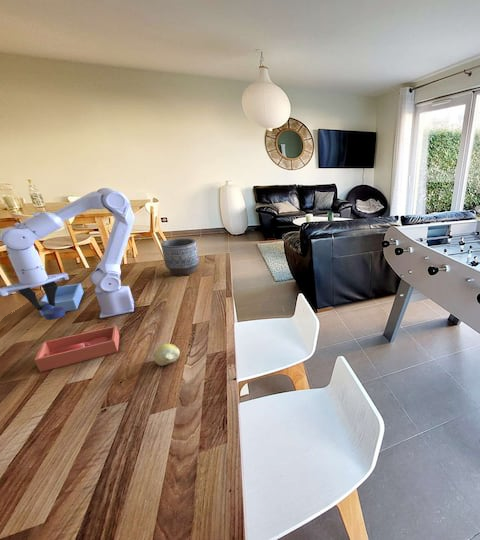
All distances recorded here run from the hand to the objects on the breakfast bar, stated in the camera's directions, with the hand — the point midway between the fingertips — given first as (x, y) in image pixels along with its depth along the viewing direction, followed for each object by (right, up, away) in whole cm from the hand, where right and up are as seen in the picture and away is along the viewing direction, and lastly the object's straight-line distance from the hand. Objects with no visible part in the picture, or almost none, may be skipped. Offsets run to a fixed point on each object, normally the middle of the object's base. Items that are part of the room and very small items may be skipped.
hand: (45, 307), depth 90 cm
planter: (+12, +11, +51) cm, 54 cm away
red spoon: (+18, -12, -6) cm, 22 cm away
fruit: (+43, -15, -7) cm, 46 cm away
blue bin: (-13, -1, +18) cm, 23 cm away
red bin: (+18, -13, -6) cm, 23 cm away
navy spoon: (+2, -2, 0) cm, 2 cm away
